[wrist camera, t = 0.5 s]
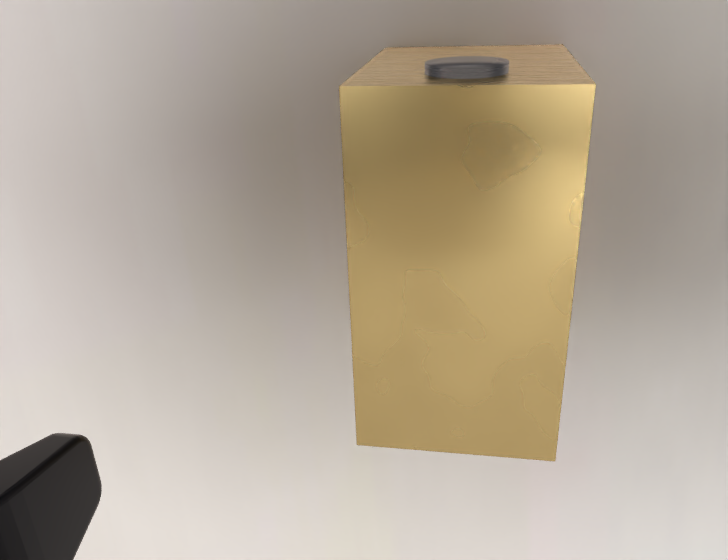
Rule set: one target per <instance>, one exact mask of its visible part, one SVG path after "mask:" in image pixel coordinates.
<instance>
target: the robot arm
mask: <svg viewBox="0 0 728 560" xmlns="http://www.w3.org/2000/svg"><path fill="white" fill-rule="evenodd" d="M100 497H101V480H100V476H99V473H98V469H97V465H96V461H95V458H94V454H93V450H92V446H91V443H90V441H89V440H88V439H87V438H86V437H85V436H82V435H77V434H66V433H55V434H52V435H50V436H48V437H46V438H44V439H42V440H40V441H38V442H36V443H34V444H32V445H30V446H28V447H26V448H24V449H22V450H20V451H18V452H16V453H14V454H12V455H10V456H8V457H6V458H4V459H2V460H0V560H73V559H74V557H75V555H76V552H77V550H78V548H79V546H80V544H81V541H82V539H83V537H84V535H85V533H86V530H87V528H88V526H89V524H90V522H91V519H92V517H93V515H94V513H95V511H96V509H97V506H98V504H99V501H100Z"/></svg>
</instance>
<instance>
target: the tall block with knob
mask: <svg viewBox="0 0 728 560" xmlns="http://www.w3.org/2000/svg"><path fill="white" fill-rule="evenodd" d="M595 88H596V84H595V82H594V81H593V80H592V79H591V78H590V76H589V75H588V74H587V73H586V72H585V70H584V69H583V68H582V67H581V66H580V64H579V63H578V62H577V61H576V60H575V58H574V57H573V56H572V55H571V54H570V52H569V51H568V50H567V49H566V48H565V46H564V45H563V44H557V45H503V46H448V47H393V48H384V49H383V50H382V51H381V52H380V53H378V54H377V55H376V56H375V57H374V58H372V59H371V60H370V61H369V62H368V63H366V64H365V65H364V66H363V67H362V68H360V69H359V70H358V71H357V72H356V73H354V74H353V75H352V76H351V77H350V78H348V79H347V80H346V81H345V82H344V83H342V84H341V85H340V86H339V98H340V117H341V137H342V157H343V177H344V197H345V217H346V237H347V257H348V277H349V297H350V317H351V337H352V357H353V377H354V397H355V417H356V437H357V445H365V446H377V447H389V448H401V449H413V450H425V451H437V452H449V453H461V454H473V455H485V456H497V457H509V458H521V459H533V460H545V461H555V459H556V449H557V440H558V431H559V422H560V412H561V403H562V394H563V385H564V375H565V366H566V357H567V347H568V338H569V329H570V320H571V310H572V301H573V292H574V283H575V273H576V264H577V255H578V246H579V236H580V227H581V218H582V209H583V199H584V190H585V181H586V172H587V162H588V153H589V144H590V135H591V125H592V116H593V107H594V98H595Z"/></svg>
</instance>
